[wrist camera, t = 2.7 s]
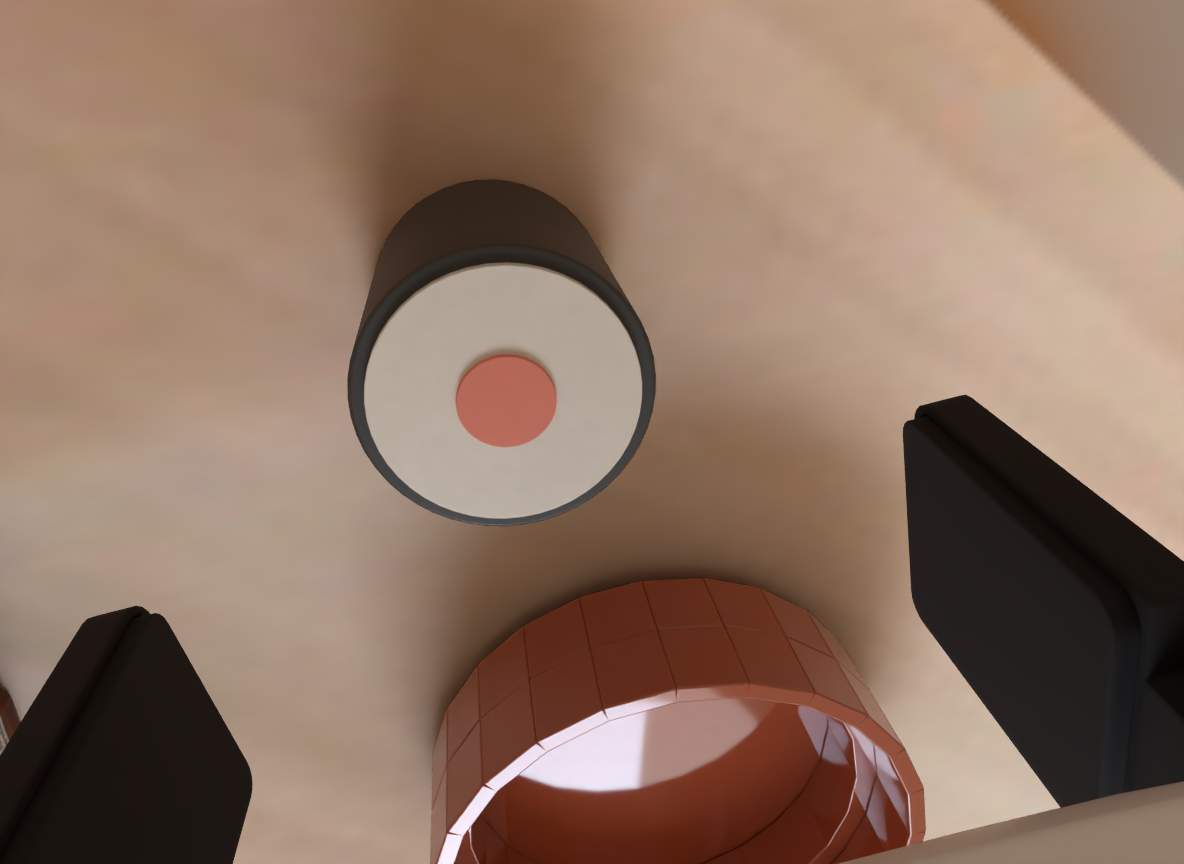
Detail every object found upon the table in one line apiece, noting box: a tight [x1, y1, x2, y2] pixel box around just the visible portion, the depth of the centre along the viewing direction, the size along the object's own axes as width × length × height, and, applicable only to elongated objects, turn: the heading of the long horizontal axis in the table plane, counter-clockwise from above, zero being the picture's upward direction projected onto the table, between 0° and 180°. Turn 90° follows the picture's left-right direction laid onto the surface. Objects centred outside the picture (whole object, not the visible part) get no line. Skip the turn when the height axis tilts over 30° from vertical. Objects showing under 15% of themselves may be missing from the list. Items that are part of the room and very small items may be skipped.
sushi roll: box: [348, 180, 656, 526], centre depth 18 cm, size 6×6×6 cm
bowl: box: [430, 578, 926, 864], centre depth 26 cm, size 14×14×5 cm
